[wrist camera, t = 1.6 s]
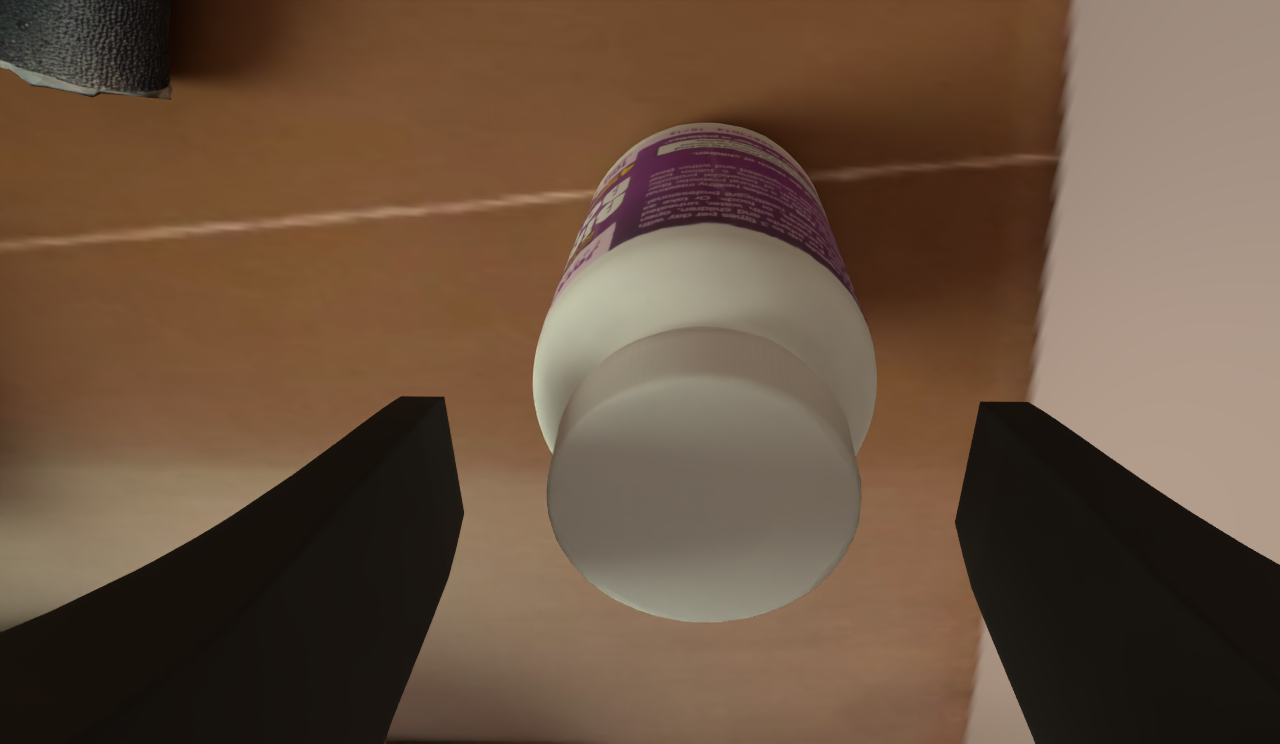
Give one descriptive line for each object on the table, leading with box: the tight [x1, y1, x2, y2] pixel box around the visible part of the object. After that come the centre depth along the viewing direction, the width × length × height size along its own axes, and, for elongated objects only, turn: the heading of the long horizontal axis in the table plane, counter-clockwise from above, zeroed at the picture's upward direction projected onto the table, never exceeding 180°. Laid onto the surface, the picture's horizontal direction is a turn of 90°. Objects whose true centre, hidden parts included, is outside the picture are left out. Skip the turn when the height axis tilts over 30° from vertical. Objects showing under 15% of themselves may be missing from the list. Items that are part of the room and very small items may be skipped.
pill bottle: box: [533, 123, 877, 623], centre depth 15 cm, size 5×5×10 cm
